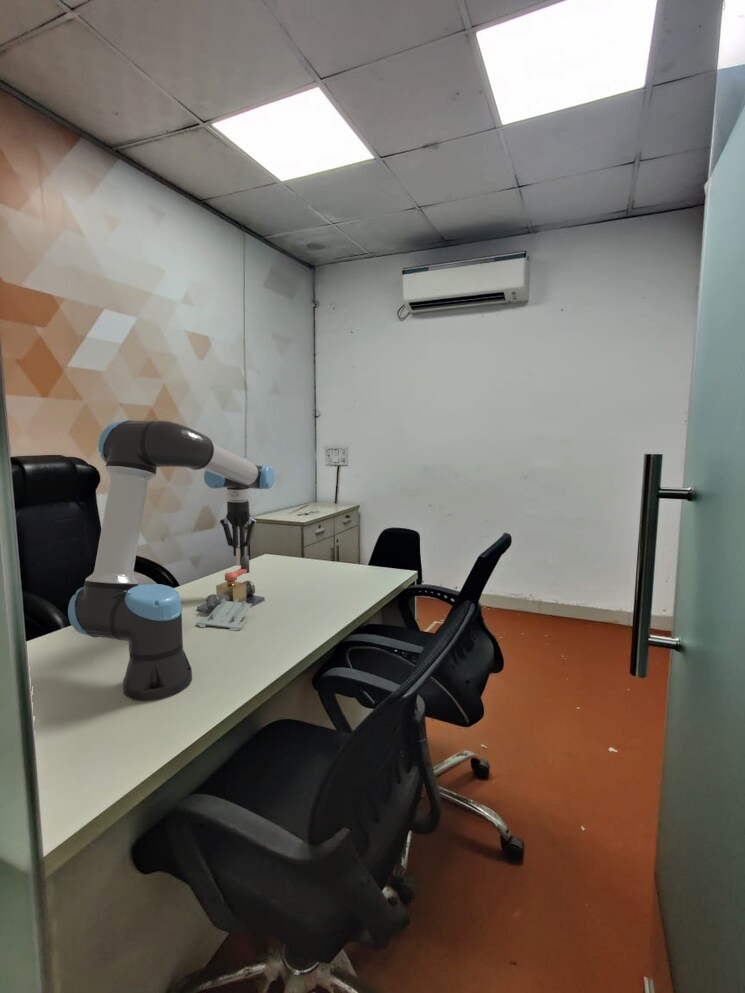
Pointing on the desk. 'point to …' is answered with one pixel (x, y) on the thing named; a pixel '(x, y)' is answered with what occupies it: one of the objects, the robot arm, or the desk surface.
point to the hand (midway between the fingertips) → (239, 564)
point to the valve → (231, 595)
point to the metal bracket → (226, 615)
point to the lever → (244, 569)
